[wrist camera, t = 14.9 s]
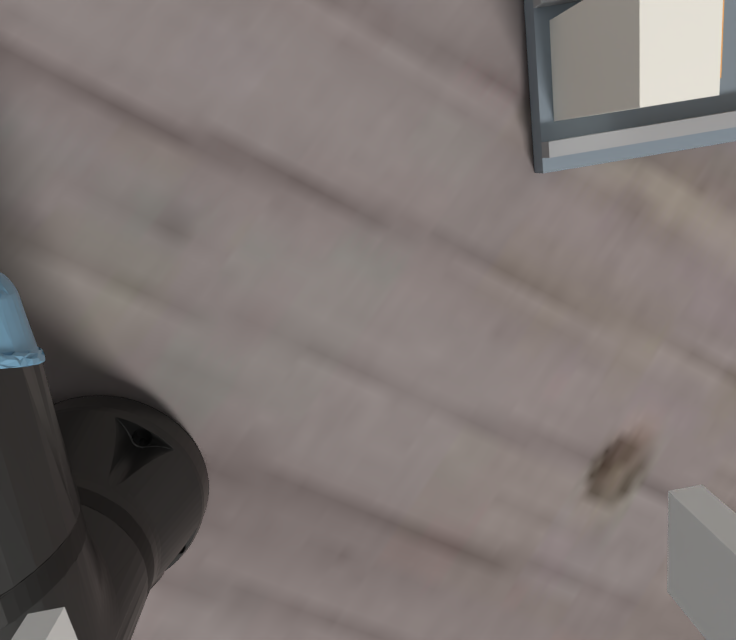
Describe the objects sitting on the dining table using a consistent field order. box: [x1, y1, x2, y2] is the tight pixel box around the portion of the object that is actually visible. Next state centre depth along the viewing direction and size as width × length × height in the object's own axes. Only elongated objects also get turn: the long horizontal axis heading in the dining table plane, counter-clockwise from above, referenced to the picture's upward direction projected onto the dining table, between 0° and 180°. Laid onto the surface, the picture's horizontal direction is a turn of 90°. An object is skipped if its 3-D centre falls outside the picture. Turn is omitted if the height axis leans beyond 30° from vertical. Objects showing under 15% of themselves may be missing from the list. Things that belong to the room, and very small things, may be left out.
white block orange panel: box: [549, 0, 724, 121], centre depth 30 cm, size 6×5×10 cm
